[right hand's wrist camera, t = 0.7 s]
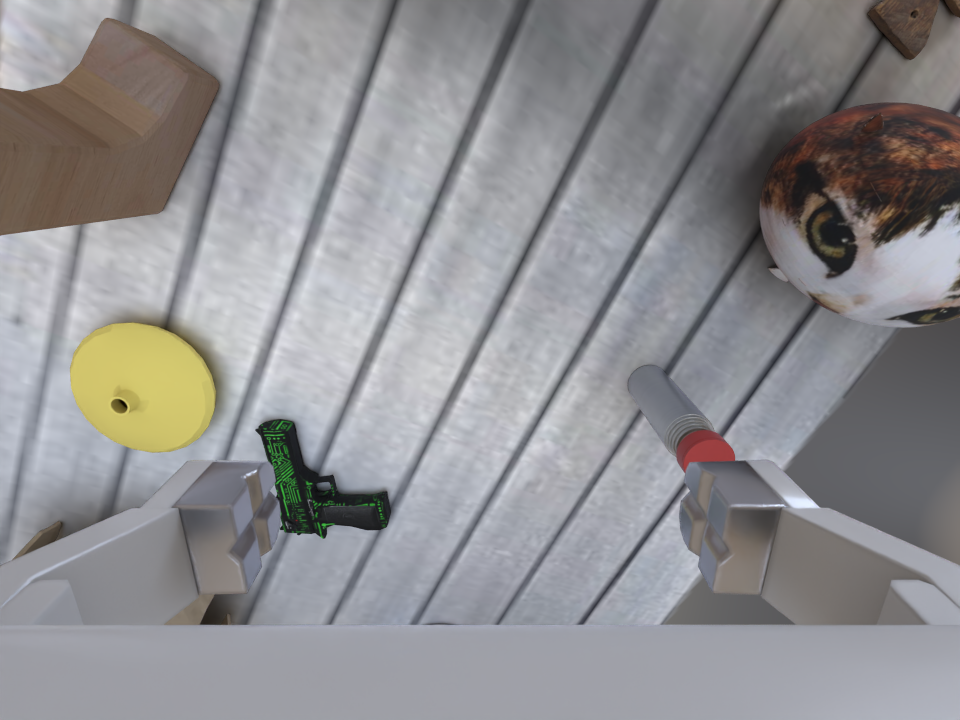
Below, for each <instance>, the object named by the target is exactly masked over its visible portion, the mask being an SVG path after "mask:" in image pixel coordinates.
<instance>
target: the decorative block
mask: <svg viewBox="0 0 960 720" xmlns="http://www.w3.org/2000/svg"><path fill="white" fill-rule="evenodd" d="M218 89H219V83H218V82H217V80H216V79H215V78H214V77H213V76H212V75H210V74H209V73H207V72H206V71H204V70H203V69H201V68H200V67H199V66H197V65H196V64H194V63H193V62H191V61H190V60H188V59H187V58H185V57H184V56H183V55H181V54H180V53H178V52H177V51H175V50H174V49H172V48H171V47H170V46H168V45H167V44H165V43H164V42H162V41H161V40H159V39H158V38H156V37H155V36H153V35H151V34H149V33H146V32H144V31H141V30H139V29H136V28H134V27H132V26H129V25H127V24H124V23H122V22H120V21H117V20H115V19H110V18H105V19H104V20H103V21H102V22H101V24H100V26H99V28H98V30H97V32H96V34H95V36H94V38H93V39H92V41H91V43H90V45H89V47H88V49H87V51H86V53H85V55H84V57H83V59H82V61H81V63H80V64H79V65H78V66H77V67H76V68H75V69H74V70H73V71H72V72H71V73H70V74H69V75H68V76H67V77H66V78H65V79H64V80H63V81H62V82H61V83H59V84H55V85H51V86H46V87H42V88H37V89H33V90H28V91H24V92H21V91H15V90H9V89H3V88H0V235H6V234H13V233H21V232H28V231H35V230H42V229H50V228H57V227H64V226H71V225H79V224H86V223H93V222H100V221H108V220H115V219H122V218H129V217H137V216H144V215H151V214H158V213H160V212H161V211H162V210H163V208H164V206H165V204H166V201H167V199H168V197H169V195H170V193H171V191H172V188H173V186H174V184H175V182H176V180H177V178H178V175H179V173H180V171H181V169H182V167H183V165H184V162H185V160H186V158H187V156H188V154H189V152H190V149H191V147H192V145H193V143H194V141H195V139H196V136H197V134H198V132H199V130H200V128H201V126H202V123H203V121H204V119H205V117H206V115H207V113H208V110H209V108H210V106H211V104H212V102H213V100H214V97H215V95H216V93H217V91H218Z"/></svg>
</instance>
